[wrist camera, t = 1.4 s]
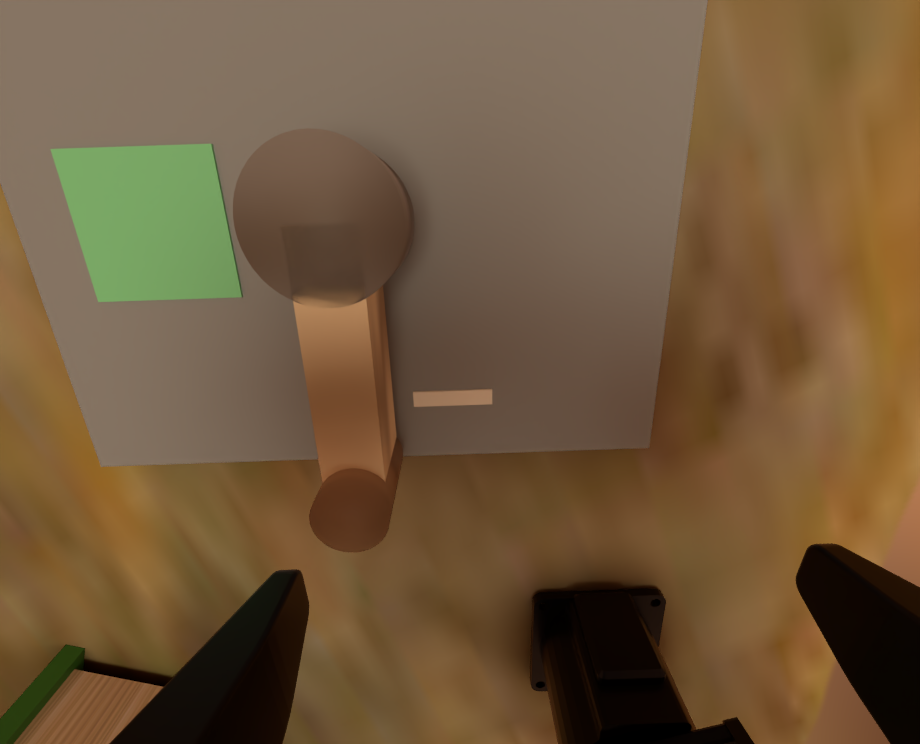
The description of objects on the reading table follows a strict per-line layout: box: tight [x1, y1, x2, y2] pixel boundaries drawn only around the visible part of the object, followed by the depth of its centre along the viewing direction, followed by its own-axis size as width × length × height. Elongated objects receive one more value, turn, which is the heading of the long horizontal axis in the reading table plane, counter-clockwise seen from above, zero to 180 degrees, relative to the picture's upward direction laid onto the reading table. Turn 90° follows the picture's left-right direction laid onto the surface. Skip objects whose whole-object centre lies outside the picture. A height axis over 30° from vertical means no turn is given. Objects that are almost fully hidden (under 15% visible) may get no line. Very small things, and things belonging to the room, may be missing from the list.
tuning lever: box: [233, 128, 414, 552], centre depth 14 cm, size 12×4×4 cm, turn 2°
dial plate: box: [0, 0, 708, 467], centre depth 15 cm, size 18×22×2 cm
